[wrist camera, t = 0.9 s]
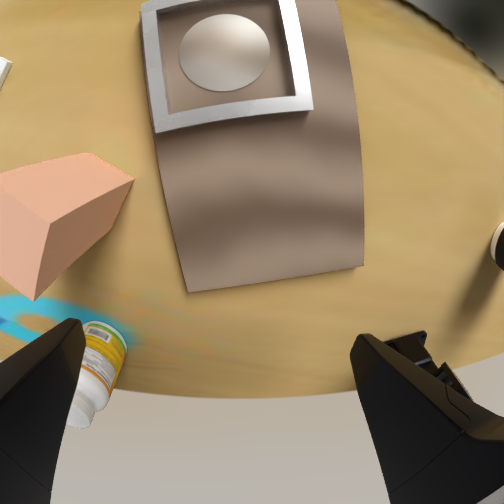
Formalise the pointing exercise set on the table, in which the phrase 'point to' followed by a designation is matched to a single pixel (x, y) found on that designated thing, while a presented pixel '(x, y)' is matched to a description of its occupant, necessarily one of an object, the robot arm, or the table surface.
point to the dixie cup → (498, 246)
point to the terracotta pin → (55, 216)
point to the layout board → (255, 137)
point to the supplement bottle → (96, 372)
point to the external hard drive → (4, 69)
